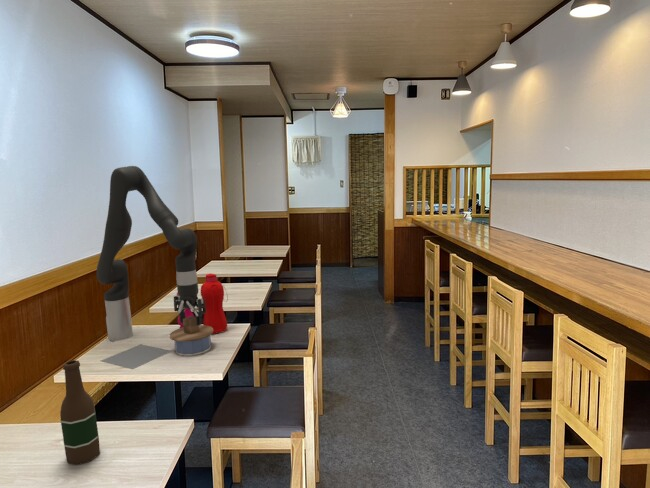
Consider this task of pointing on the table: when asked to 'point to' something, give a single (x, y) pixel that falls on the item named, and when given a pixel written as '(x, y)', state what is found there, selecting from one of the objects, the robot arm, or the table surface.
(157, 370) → the table surface
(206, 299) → the water bottle
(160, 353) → the mat
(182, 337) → the lid
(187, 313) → the pepper mill
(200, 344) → the bowl
